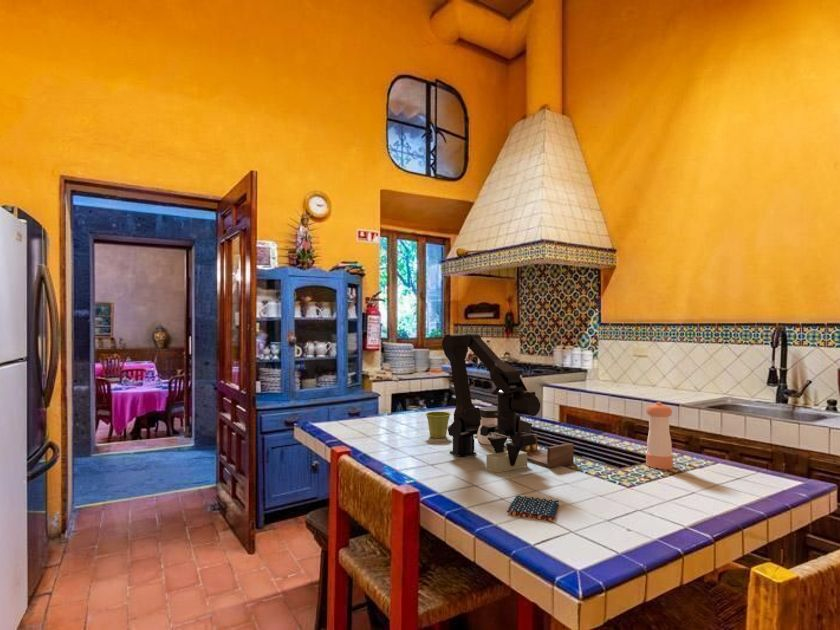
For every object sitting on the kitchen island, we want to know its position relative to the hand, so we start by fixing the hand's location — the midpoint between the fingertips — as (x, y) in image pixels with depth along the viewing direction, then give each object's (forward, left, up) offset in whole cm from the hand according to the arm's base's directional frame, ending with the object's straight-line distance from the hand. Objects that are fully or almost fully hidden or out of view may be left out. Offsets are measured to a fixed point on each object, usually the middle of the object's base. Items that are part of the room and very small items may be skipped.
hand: (507, 463), depth 149 cm
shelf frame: (+15, +1, -1) cm, 15 cm away
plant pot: (+5, +44, -1) cm, 44 cm away
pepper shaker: (+40, -23, -1) cm, 46 cm away
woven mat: (-18, -29, -2) cm, 34 cm away
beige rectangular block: (0, 0, -1) cm, 1 cm away
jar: (+16, +27, -1) cm, 31 cm away
